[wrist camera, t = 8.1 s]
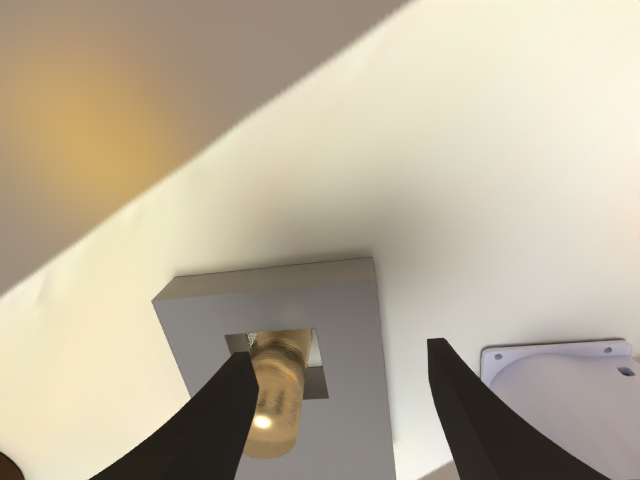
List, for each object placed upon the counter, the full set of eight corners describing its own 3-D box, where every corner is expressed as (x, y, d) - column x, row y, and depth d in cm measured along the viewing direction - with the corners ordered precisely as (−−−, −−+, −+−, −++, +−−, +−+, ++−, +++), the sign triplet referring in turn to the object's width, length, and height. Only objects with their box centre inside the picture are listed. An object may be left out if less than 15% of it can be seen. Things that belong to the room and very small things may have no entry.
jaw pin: (310, 312, 24) (293, 408, 16) (313, 355, 25) (298, 461, 18) (256, 311, 24) (215, 404, 17) (261, 354, 26) (227, 457, 18)
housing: (372, 257, 22) (375, 279, 19) (391, 444, 28) (396, 481, 26) (174, 277, 23) (151, 301, 21) (237, 448, 30) (225, 483, 27)
